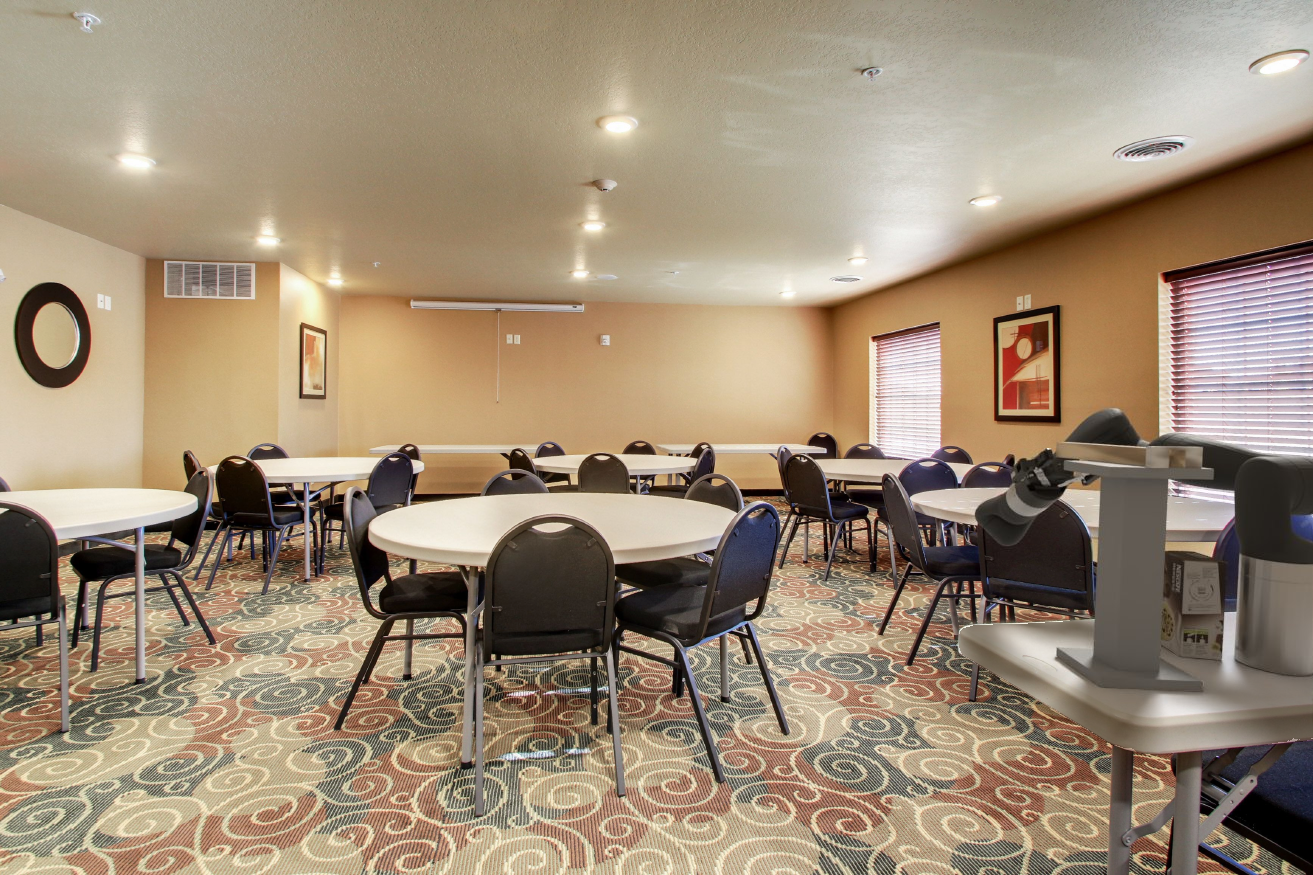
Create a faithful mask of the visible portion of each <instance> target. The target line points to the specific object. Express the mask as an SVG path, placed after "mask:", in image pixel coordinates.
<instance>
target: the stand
mask: <svg viewBox="0 0 1313 875" xmlns="http://www.w3.org/2000/svg"><path fill="white" fill-rule="evenodd" d="M1064 470H1068V471H1074V473H1076V472H1080V473H1086V474H1092V475H1098V476H1101V477H1100V487H1099V488H1100V489H1099V511H1098V512H1099V513H1098V514H1099V517H1098V534H1097V535H1098V537H1097V554H1096V556H1097V558H1096V576H1095V577H1096V579H1095V580H1096V583H1095V584H1096V585H1095V602H1094V603H1095V606H1094V607H1095V609H1094V623H1093V624H1094V626H1093V627H1094V628H1093V648H1090V647H1089V648H1087V647H1086V648H1085V647H1064V646H1063V647H1059V646H1056V650H1055V651H1056V654H1055V655H1056V656H1055V657H1056V658H1058V659H1059V660H1061V661H1063V662H1064V663H1065V664H1066V665H1068V666H1070V667H1071V668H1072V669H1074V670H1075V671H1077V672H1078V673H1079V674H1081V675H1082V676H1084V677H1085V678H1087V679H1088V680H1090V681H1091V682H1092V683H1094V684H1095V685H1097V686H1098V687H1100V688H1111V689H1113V688H1114V689H1115V688H1116V689H1133V690H1134V689H1136V690H1138V689H1139V690H1153V691H1154V690H1156V691H1159V690H1160V691H1181V692H1202V693H1203V692H1204V680H1202V679H1200V678H1198V677H1197V676H1194V675H1192V674H1190V673H1189V672H1187V671H1185V670H1183V669H1181V668H1180V667H1178V666H1176V665H1174V664H1172V663H1170V662H1169V661H1167V660H1165V659H1163V658H1161V649H1162V648H1161V646H1162V645H1161V627H1162V606H1163V584H1164V563H1165V551H1166V539H1167V538H1166V537H1167V521H1168V520H1167V517H1168V498H1169V497H1168V495H1169V480H1170V479H1210V480H1213V478H1214V469H1210V468H1146V467H1145V466H1142V465H1132V464H1122V463H1112V462H1102V461H1082V460H1079V461H1064Z"/></svg>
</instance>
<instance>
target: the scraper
mask: <svg viewBox="0 0 1313 875" xmlns="http://www.w3.org/2000/svg"><path fill="white" fill-rule="evenodd" d="M1055 452H1056V457H1062V458H1072V459H1080V460H1081V461H1082V460H1092V461H1102V462H1112V463H1122V464H1132V465H1142V466H1145V467H1146V468H1202V455H1203V447H1155V446H1146V447H1134V446H1119V445H1104V444H1089V443H1074V442H1064V441H1061V442H1060V441H1058V442H1057V441H1056V443H1055Z"/></svg>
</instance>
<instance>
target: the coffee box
mask: <svg viewBox="0 0 1313 875" xmlns="http://www.w3.org/2000/svg"><path fill="white" fill-rule="evenodd" d="M1227 568H1228V561H1225V560H1222V559H1218V558H1216V557H1211V556H1210V555H1207V554H1203V553H1200V552H1196V551H1190V550H1165V563H1164V584H1163V606H1162V627H1161V646H1162V645H1163V646H1162V647H1164V648H1166V649H1167V650H1169V651H1170V652H1172V653H1173V654H1175V655H1178V656H1179V657H1182V658H1192V659H1193V658H1194V659H1205V660H1215V661H1222V659H1223V650H1224V649H1223V647H1224V646H1223V644H1224V632H1225V629H1224V628H1225V613H1226V612H1225V609H1226V607H1225V606H1226V591H1227V590H1226V589H1227V572H1228V571H1227V570H1228V569H1227Z"/></svg>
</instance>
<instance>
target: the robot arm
mask: <svg viewBox="0 0 1313 875" xmlns="http://www.w3.org/2000/svg"><path fill="white" fill-rule="evenodd" d="M1063 442H1074V443H1089V444H1104V445H1119V446H1134V447H1146V446H1155V447H1203V455H1202V468H1210V469H1214V478H1213V480H1210V479H1169V480H1170V481H1173V482H1177V483H1179V484H1183V485H1188V486H1190V487H1192V486H1193V487H1197V488H1198V487H1199V488H1205V489H1212V490H1220V491H1221V490H1222V491H1229V492H1230V491H1231V492H1233V495H1234V496H1233V497H1234V498H1233V499H1234V500H1233V501H1234V530H1235V531H1234V532H1235V535H1236V538H1237V541H1238V544H1239V554H1238V555H1239V557H1238V558H1239V560H1238V580H1237V598H1236V611H1235V612H1236V615H1235V616H1236V617H1235V634H1234V635H1235V636H1234V651H1233V652H1234V653H1233V655H1234V656H1233V658H1234V659H1235V660H1236V661H1238V662H1240V663H1241V664H1244V665H1245V666H1249V667H1252V668H1255V669H1259V670H1263V671H1266V672H1271V673H1276V674H1281V675H1288V676H1301V677H1303V676H1311V675H1313V541H1311V540H1309V539H1306V538H1304V537H1302V536H1300V535H1298V534H1297V533H1296V532H1295V531H1294V530H1293V526H1292V516H1295V517H1296V516H1300V517H1301V516H1312V515H1313V458H1312V457H1311V458H1310V457H1306V456H1305V457H1304V456H1292V455H1291V456H1289V455H1282V454H1281V455H1280V454H1272V453H1271V454H1270V453H1266V452H1261V451H1257V450H1252V449H1248V448H1245V447H1242V446H1238V445H1235V444H1231V443H1227V442H1223V441H1220V440H1216V439H1212V438H1209V437H1208V438H1207V437H1204V436H1201V435H1195V434H1191V433H1186V432H1169V433H1165V434H1162V435H1160V436H1158V437H1156V438H1155V439H1153V440H1152V441H1151V442H1149V441H1146V440H1144V439H1143V438H1142V437H1141V436H1140V435H1139V433H1138V432H1137V430H1136V429H1135V428H1134V426H1133V424H1132V423H1131V421H1130V420H1129V418H1128V417H1127V415H1126V414H1125V412H1123V410H1122V409H1120V408H1115V407H1112V408H1110V407H1109V408H1105V409H1101V410H1098V411H1096V412H1094V413H1093V414H1090V415H1089V416H1088V417H1086V418H1085V419H1084V420H1083V421H1081V422H1080V424H1078V426H1077V427H1076V428H1075V429H1074V430H1073V431H1072V432H1071V434H1069V435H1068V436H1067V438H1066V439H1065V440H1063ZM1064 461H1092V460H1082V459H1072V458H1062V457H1056V451H1055V452H1054V453H1053V449H1052V448H1045V449H1043V451H1040V452H1039V453H1038V454H1037V455H1036V456H1032V457H1031V458H1030V459H1027V458H1026V457H1020V459H1018V461H1016V463H1015V464H1014V465H1013V466H1012V468H1011V469H1010V470H1009V472H1010V477H1011V482H1012V484H1010V486H1009V488H1008V489H1007V490H1006V491H1005V492H1004V493H1003V494H1001V495H999V496H994V497H991V498H988V499H987V500H985V501H983V502H981V503H980V504H979V505H978V506H977V508H976V509H975V510H974V519H975V521H976V522H977V524H978V525H979V526H981V528H982V529H984V530H985V532H986V533H987V534H988V535H990V536H991V538H993V539H994V540H995V541H996V542H997V543H998V544H999V545H1001V546H1004V547H1011V546H1015V545H1017V544H1018V543H1019V542H1020V541H1021V540H1022V539H1023V538H1024V536H1025V534H1026V533H1027V531H1029V528H1030V527H1031V525H1032V523H1033V522H1034V521H1035V519H1036V518H1037V517H1038V516H1039V515H1040V514H1041V513H1042V512H1043V511H1046V509H1048V508H1049V507H1050V506H1051V505H1053V504H1054V503H1055V502H1056V501H1058V500H1059V499H1060V498H1061V497H1062V496H1064V493H1065V492H1066V490H1067V489H1068V487H1069V485H1071V484H1073V483H1075V482H1078V483H1079V482H1080V483H1081V484H1082V486H1084V487H1086V486H1090V485H1092V484H1093V483H1094V482H1095V481H1097V480H1098V479H1099V478H1100V479H1101V476H1098V475H1092V474H1086V473H1080V472H1074V471H1068V470H1064Z"/></svg>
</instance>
